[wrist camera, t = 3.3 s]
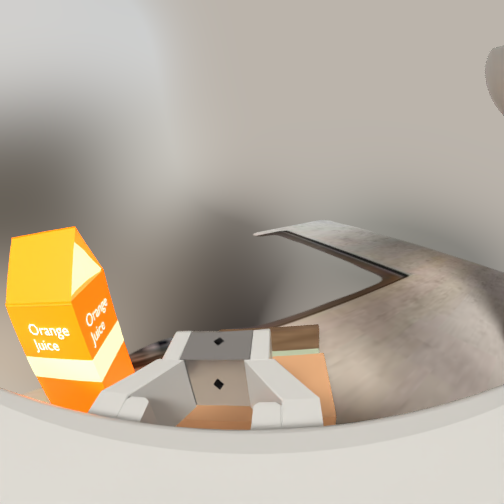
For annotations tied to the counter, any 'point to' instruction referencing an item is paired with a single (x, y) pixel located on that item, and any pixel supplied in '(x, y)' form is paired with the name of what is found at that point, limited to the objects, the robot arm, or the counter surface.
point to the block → (240, 417)
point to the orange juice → (65, 317)
